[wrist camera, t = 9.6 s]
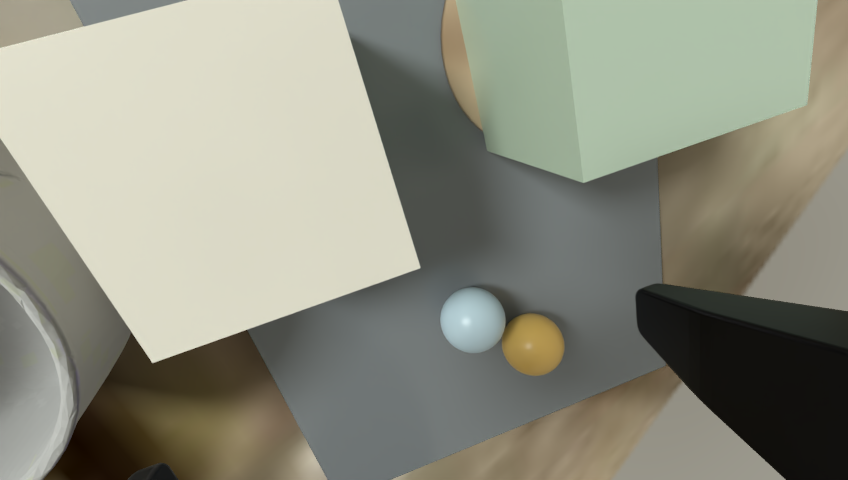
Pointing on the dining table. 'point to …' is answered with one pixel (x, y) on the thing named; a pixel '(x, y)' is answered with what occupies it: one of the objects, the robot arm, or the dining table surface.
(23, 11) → the dining table surface
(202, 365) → the dining table surface
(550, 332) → the amber marble
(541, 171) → the slate board
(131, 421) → the dining table surface
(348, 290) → the ivory cube
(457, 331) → the pale blue marble
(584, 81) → the frosted jade cube
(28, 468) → the teacup
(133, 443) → the dining table surface
